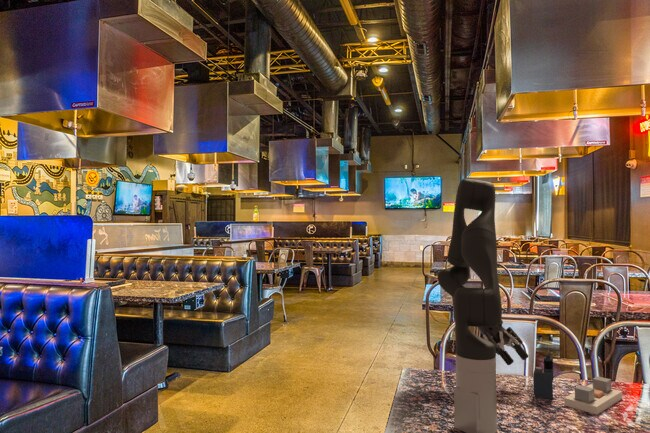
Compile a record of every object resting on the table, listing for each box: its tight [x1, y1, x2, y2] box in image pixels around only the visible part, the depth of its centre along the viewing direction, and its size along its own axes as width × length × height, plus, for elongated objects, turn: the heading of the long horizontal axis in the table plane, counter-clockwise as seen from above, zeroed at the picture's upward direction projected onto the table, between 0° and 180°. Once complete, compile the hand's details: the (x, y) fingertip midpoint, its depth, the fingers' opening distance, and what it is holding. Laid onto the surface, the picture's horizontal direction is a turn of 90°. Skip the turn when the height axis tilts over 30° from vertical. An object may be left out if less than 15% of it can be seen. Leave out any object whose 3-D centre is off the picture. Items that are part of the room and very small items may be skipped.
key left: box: [574, 384, 595, 402], centre depth 118 cm, size 4×4×3 cm
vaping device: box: [532, 353, 555, 400], centre depth 126 cm, size 3×5×12 cm, turn 75°
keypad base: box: [563, 383, 623, 415], centre depth 122 cm, size 18×8×2 cm, turn 129°
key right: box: [592, 375, 612, 392], centre depth 126 cm, size 4×4×3 cm
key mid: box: [594, 389, 603, 399], centre depth 122 cm, size 4×4×3 cm
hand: (518, 361), depth 132 cm, fingers open, 8 cm apart
